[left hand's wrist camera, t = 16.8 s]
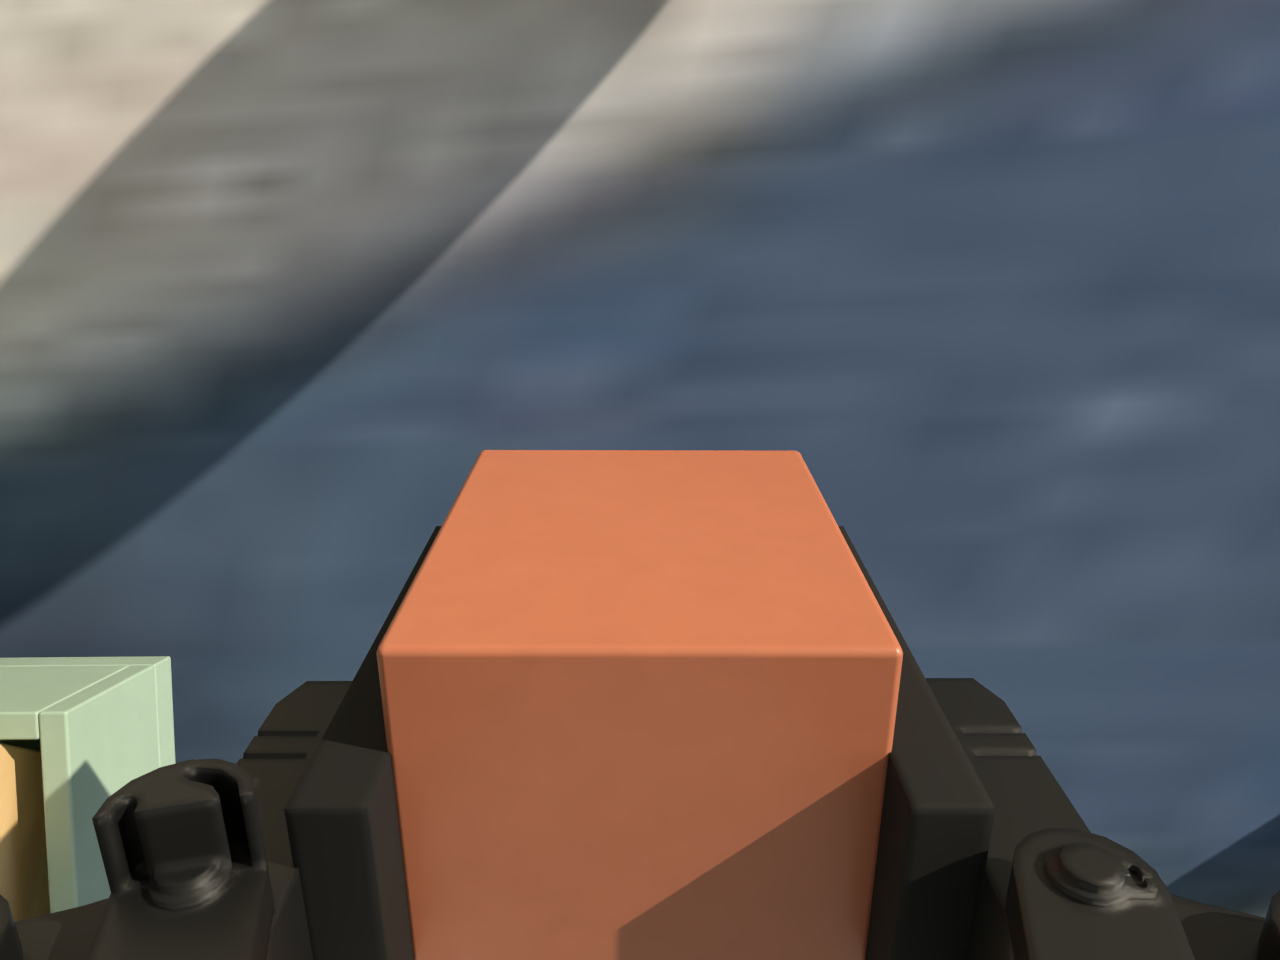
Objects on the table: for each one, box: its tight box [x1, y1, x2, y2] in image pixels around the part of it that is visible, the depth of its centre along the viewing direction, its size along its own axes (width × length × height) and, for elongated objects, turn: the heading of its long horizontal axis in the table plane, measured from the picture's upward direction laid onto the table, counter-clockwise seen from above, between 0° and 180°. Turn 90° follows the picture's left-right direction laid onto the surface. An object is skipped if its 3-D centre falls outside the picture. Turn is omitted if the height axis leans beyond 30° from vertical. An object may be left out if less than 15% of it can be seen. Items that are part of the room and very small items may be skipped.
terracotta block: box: [376, 450, 903, 960], centre depth 12 cm, size 5×5×6 cm
